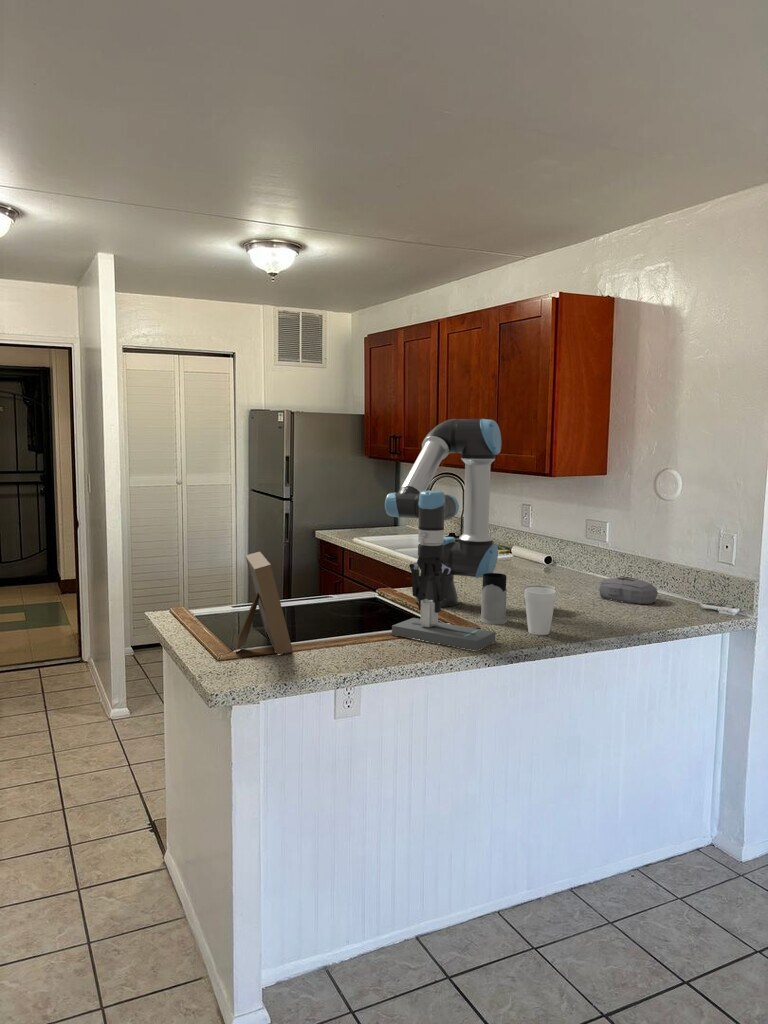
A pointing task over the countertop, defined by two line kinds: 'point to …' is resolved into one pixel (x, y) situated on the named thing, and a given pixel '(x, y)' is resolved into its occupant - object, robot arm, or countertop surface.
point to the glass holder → (493, 598)
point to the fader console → (445, 634)
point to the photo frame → (265, 605)
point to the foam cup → (539, 609)
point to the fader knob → (426, 614)
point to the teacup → (538, 586)
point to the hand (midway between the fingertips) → (429, 621)
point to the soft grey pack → (628, 590)
